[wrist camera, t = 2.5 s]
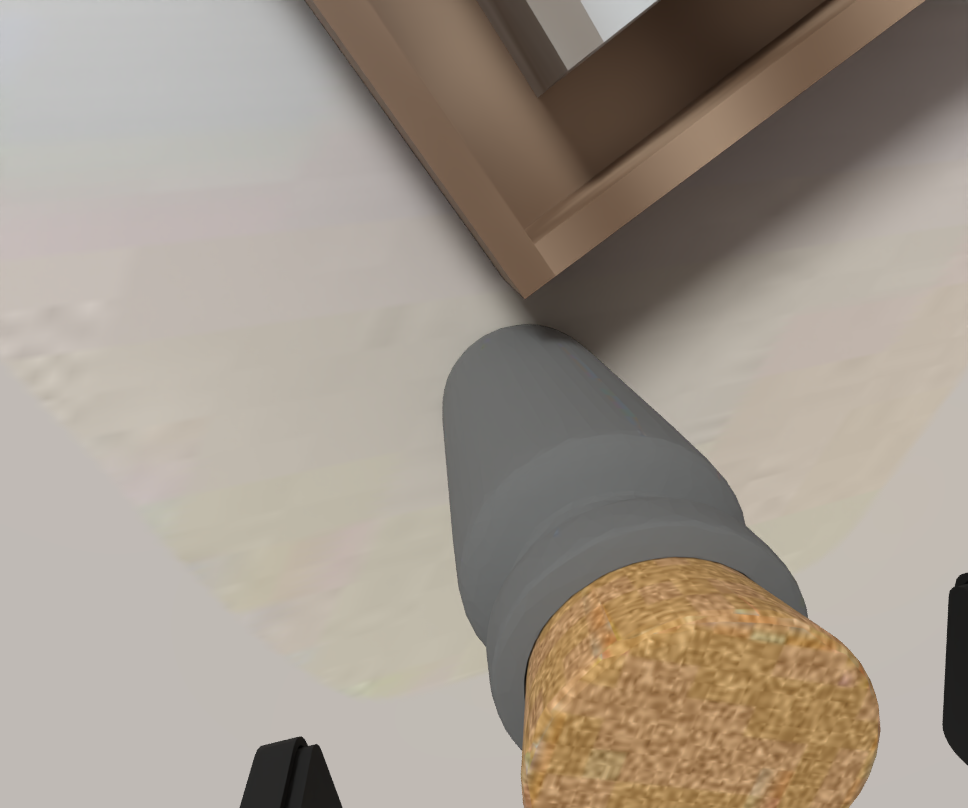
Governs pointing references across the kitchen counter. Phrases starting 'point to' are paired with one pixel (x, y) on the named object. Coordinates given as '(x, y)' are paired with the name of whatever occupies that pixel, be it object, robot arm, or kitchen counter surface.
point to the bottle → (634, 601)
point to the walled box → (583, 100)
